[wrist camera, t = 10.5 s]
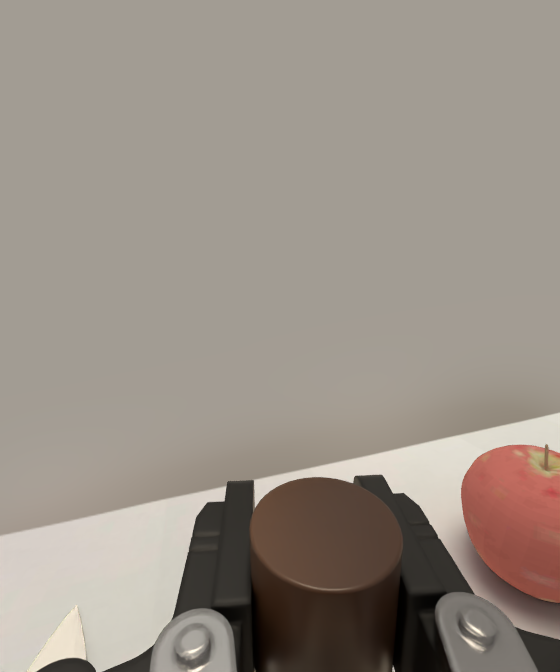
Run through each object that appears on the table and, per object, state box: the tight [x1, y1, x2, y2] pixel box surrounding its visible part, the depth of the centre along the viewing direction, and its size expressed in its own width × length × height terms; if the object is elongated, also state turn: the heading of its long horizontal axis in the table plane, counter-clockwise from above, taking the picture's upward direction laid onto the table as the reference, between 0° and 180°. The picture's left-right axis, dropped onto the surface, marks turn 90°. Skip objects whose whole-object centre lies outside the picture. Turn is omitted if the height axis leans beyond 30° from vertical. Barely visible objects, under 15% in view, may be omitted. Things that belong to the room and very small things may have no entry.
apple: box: [461, 444, 560, 603], centre depth 19 cm, size 7×7×8 cm
